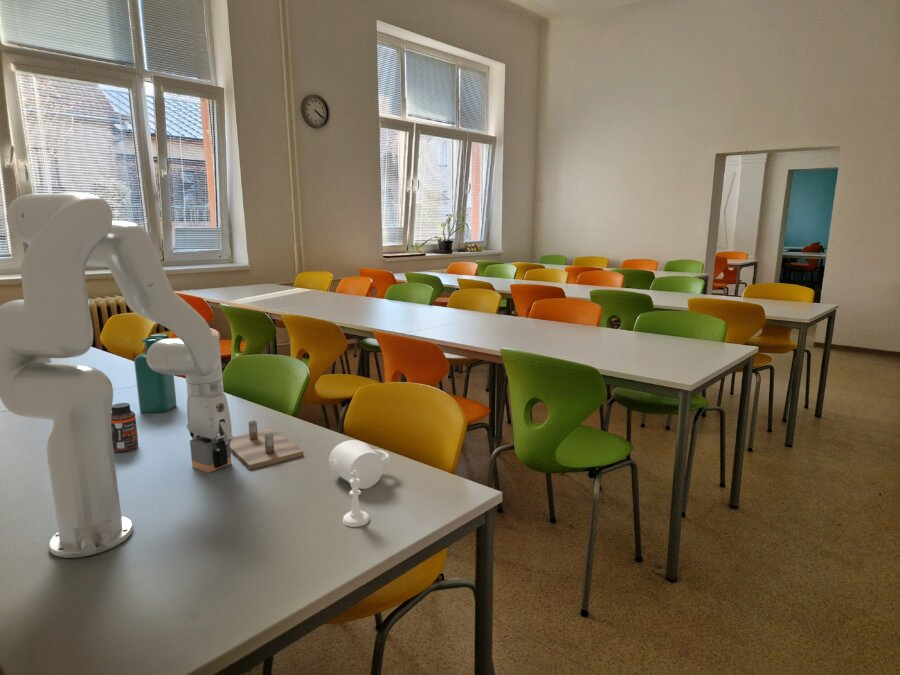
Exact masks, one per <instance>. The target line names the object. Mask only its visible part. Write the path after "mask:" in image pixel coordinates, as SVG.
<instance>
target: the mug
mask: <svg viewBox="0 0 900 675" xmlns="http://www.w3.org/2000/svg"><path fill="white" fill-rule="evenodd" d="M390 460H391V457H390V454H389V453H387V452H386V451H384V450H381V449H373V448H371V447H370V446H369V444H367V443H366V442H363V441H361V440H356V439H349V440H345V441H342V442H340V443H339V444H337V445H336V446H335V447H334V448H333V449H332V450H331V452H330V453H329V456H328V465H329V467H330V468H331V470H332V471H334V472H336V473H337V474H338V475H339V476H340V478H342V479H343V480H345V481H346V482H347V483H349V481H350V480H351V479H353V476H351V473H352V472H353V470H356V474H358V477H357V478H358V479H360V484H359V487H358V489H359V490H366V489H369V488H371V487H373V486H375V485H376V484H377V483H378V482H379V480H380V479H381V477H382V476H383V472H384V468H385V467H386V466H388V465H390V463H391V462H390Z"/></svg>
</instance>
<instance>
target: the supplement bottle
mask: <svg viewBox="0 0 900 675" xmlns="http://www.w3.org/2000/svg"><path fill="white" fill-rule="evenodd" d="M136 418H137V417H136V413H135V412H134V411H133V410H131V404H130V403H129V402H119V403H114V404H112V411H111V434H112V443H113V452H114V453H115V452H116V453H126V452H130V451H132V450H134V449H136V448H138V447H139V436H138V427H137V426H138V425H137V419H136Z"/></svg>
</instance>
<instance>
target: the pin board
mask: <svg viewBox="0 0 900 675" xmlns="http://www.w3.org/2000/svg"><path fill="white" fill-rule="evenodd" d="M230 453H231V454H232V455H234V457H235V458H236V459H237V460H239V461H240V462H241V463H242V464H243V465H244V466H245V467H246V468H247V469H248V470H249V471H250V470H255V469H258V468H262V467H266V466H269V465H274V464H278V463H281V462H286V461H289V460H293V459H297V458H301V457H304V450H303V449H301V448H299V447H298V446H297V445H295V444H294V443H293V442H291V440H289V439H287V438H286V437H285V436H283V435H282V434H281V433H279V432H278V431H276V430H275V429H273V428H267V429H264V430H263V429H262V430H258V422H257V421H256V420H255V419H250V420H249V421H248V433H245V434H240V435H235V436H233V439H232V440H231V442H230Z"/></svg>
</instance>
